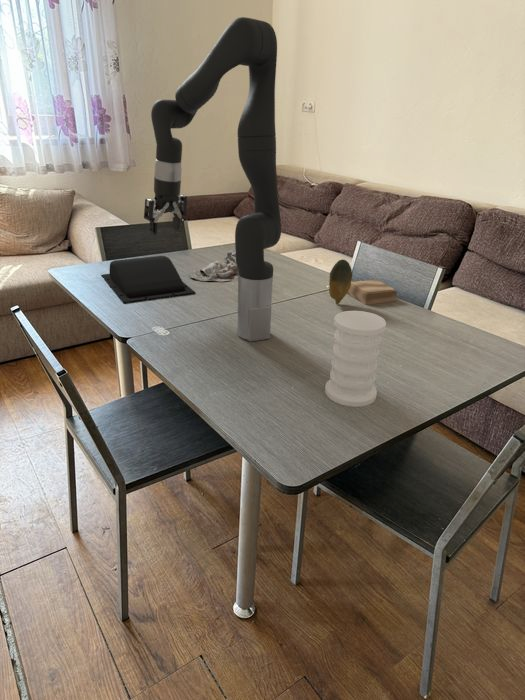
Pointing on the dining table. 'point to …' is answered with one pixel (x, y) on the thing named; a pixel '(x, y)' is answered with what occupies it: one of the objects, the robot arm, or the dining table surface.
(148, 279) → the black rounded block
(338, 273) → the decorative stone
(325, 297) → the dining table surface
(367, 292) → the plinth
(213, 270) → the wall ornament
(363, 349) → the decorative container
